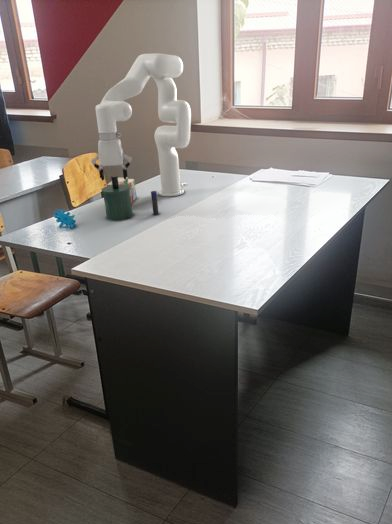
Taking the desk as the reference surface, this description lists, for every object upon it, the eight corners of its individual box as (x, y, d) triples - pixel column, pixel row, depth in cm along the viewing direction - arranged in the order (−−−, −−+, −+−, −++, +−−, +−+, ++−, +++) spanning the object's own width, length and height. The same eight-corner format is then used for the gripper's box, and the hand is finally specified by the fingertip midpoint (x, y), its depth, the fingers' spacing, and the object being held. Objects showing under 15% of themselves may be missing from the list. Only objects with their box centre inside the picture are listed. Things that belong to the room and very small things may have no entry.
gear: (65, 228, 212) (50, 209, 212) (58, 237, 215) (44, 218, 216) (82, 224, 220) (69, 206, 221) (76, 232, 224) (63, 214, 224)
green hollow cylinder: (122, 211, 234) (119, 185, 228) (138, 215, 227) (134, 189, 221) (101, 217, 228) (97, 191, 222) (117, 222, 220) (113, 195, 214)
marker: (156, 212, 229) (154, 190, 223) (159, 213, 227) (157, 191, 222) (152, 214, 227) (149, 191, 222) (155, 215, 226) (153, 192, 220)
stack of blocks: (125, 198, 253) (121, 172, 246) (137, 198, 252) (133, 172, 245) (110, 211, 235) (106, 184, 229) (123, 211, 234) (119, 184, 228)
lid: (119, 186, 229) (117, 171, 226) (136, 190, 221) (134, 175, 218) (96, 192, 222) (93, 177, 218) (113, 197, 214) (110, 181, 211)
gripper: (130, 134, 212) (135, 176, 221) (89, 136, 213) (96, 178, 222) (128, 137, 206) (133, 180, 215) (86, 139, 207) (92, 182, 216)
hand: (114, 179), depth 218 cm, fingers open, 9 cm apart
